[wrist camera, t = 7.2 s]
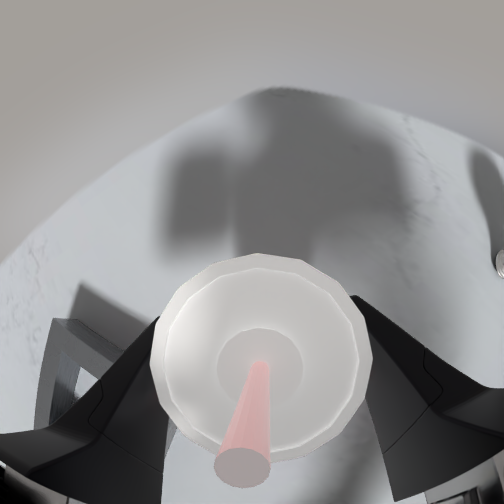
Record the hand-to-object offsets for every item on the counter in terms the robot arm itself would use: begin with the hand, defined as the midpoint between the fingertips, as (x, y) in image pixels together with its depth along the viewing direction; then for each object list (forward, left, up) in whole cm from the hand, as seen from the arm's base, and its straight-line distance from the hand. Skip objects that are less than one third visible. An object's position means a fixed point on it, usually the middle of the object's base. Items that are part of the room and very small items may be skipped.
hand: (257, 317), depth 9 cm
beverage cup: (-1, -1, -7) cm, 7 cm away
